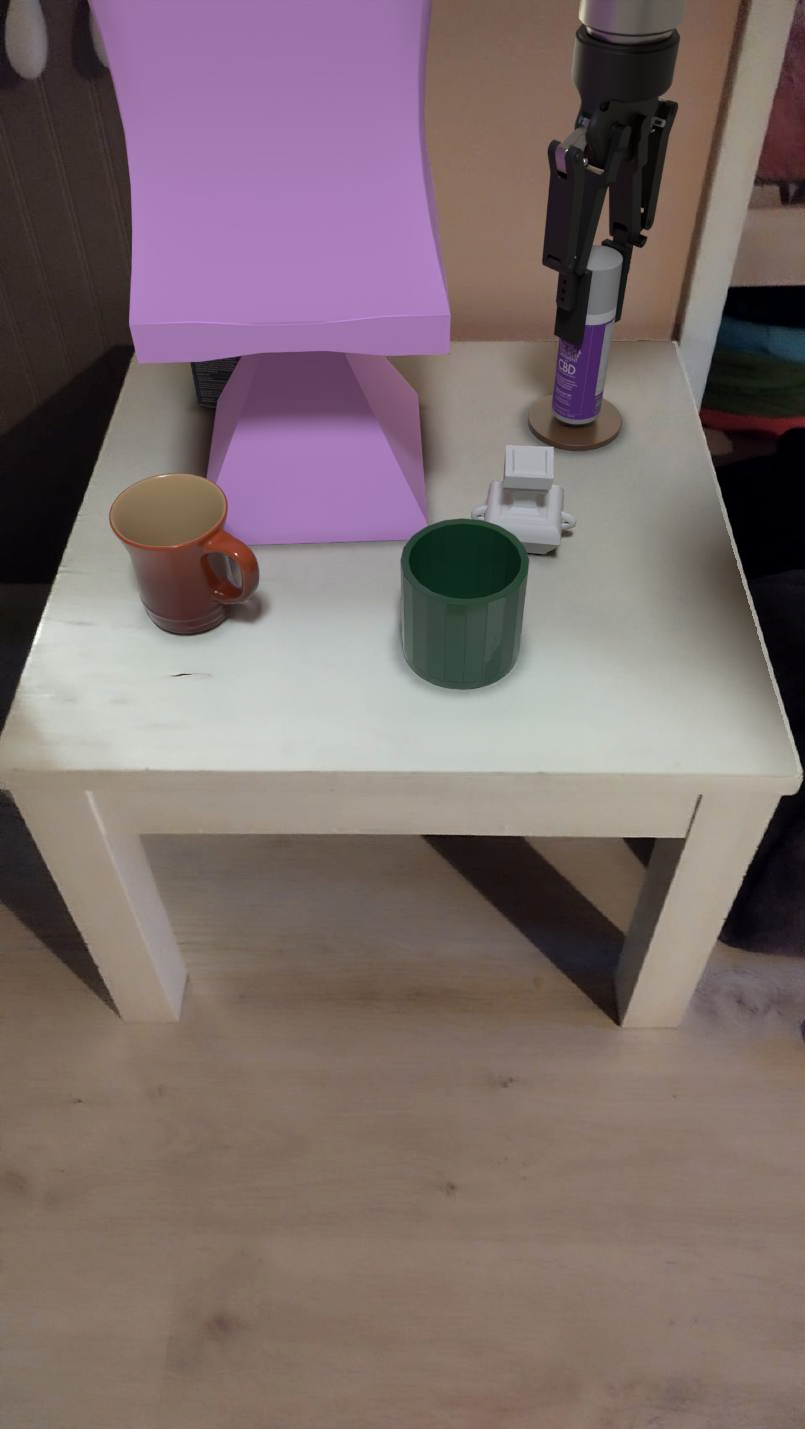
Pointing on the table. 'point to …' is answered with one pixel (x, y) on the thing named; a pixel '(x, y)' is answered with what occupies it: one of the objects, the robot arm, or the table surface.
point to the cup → (462, 602)
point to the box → (212, 379)
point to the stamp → (528, 499)
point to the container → (589, 344)
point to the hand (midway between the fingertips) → (587, 326)
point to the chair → (288, 245)
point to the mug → (183, 550)
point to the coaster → (574, 427)
